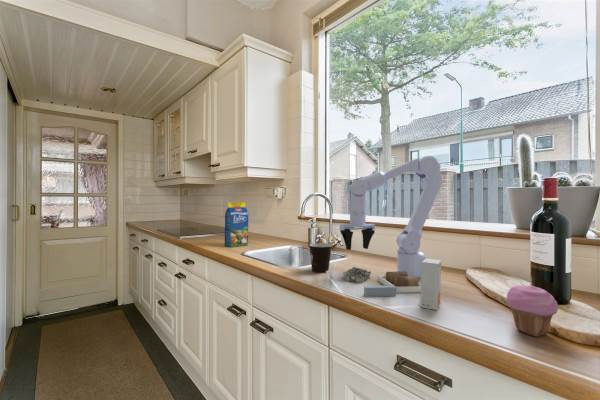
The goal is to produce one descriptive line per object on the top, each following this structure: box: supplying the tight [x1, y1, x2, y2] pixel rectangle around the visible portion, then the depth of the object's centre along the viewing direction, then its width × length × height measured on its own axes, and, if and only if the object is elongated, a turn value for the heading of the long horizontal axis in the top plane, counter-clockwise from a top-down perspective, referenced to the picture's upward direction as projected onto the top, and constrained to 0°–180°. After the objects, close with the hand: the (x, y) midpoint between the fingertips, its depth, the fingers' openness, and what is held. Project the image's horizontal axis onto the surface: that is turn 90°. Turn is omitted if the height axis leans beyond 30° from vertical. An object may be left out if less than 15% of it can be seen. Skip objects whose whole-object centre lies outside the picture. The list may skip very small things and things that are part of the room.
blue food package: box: [224, 202, 249, 248], centre depth 174 cm, size 6×12×25 cm, turn 137°
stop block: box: [363, 285, 397, 298], centre depth 87 cm, size 9×2×3 cm, turn 97°
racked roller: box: [385, 270, 408, 284], centre depth 98 cm, size 6×4×4 cm
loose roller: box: [394, 276, 419, 287], centre depth 92 cm, size 6×4×4 cm
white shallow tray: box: [377, 275, 421, 294], centre depth 96 cm, size 10×13×2 cm
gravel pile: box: [342, 266, 372, 284], centre depth 105 cm, size 11×8×4 cm
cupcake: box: [506, 285, 559, 337], centre depth 65 cm, size 9×9×10 cm
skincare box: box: [419, 258, 442, 311], centre depth 80 cm, size 6×4×12 cm
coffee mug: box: [309, 243, 333, 274], centre depth 118 cm, size 12×9×10 cm
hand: (357, 249), depth 112 cm, fingers open, 7 cm apart
